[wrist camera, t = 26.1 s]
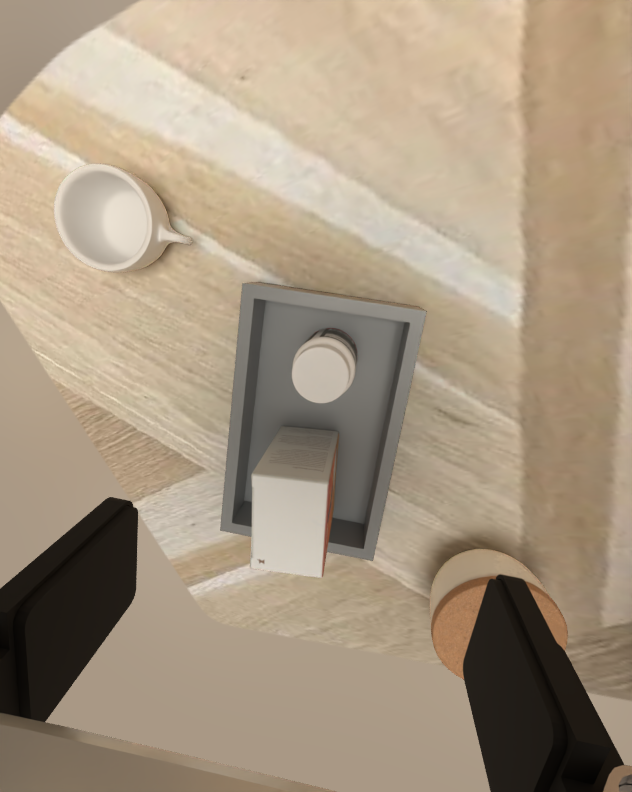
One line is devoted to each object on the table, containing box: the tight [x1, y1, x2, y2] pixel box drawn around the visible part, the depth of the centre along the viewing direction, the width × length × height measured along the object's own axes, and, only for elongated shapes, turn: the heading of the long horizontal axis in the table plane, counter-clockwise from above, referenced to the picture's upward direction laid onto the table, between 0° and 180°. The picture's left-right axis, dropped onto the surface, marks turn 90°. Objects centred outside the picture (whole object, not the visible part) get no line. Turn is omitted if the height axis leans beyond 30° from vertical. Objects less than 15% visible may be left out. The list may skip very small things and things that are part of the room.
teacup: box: [54, 164, 192, 272], centre depth 34 cm, size 10×8×5 cm
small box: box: [250, 426, 339, 578], centre depth 35 cm, size 8×6×10 cm
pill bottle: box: [292, 328, 358, 403], centre depth 33 cm, size 5×5×8 cm
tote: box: [220, 282, 427, 561], centre depth 37 cm, size 14×22×5 cm, turn 172°
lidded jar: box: [430, 549, 568, 680], centre depth 38 cm, size 11×11×9 cm
